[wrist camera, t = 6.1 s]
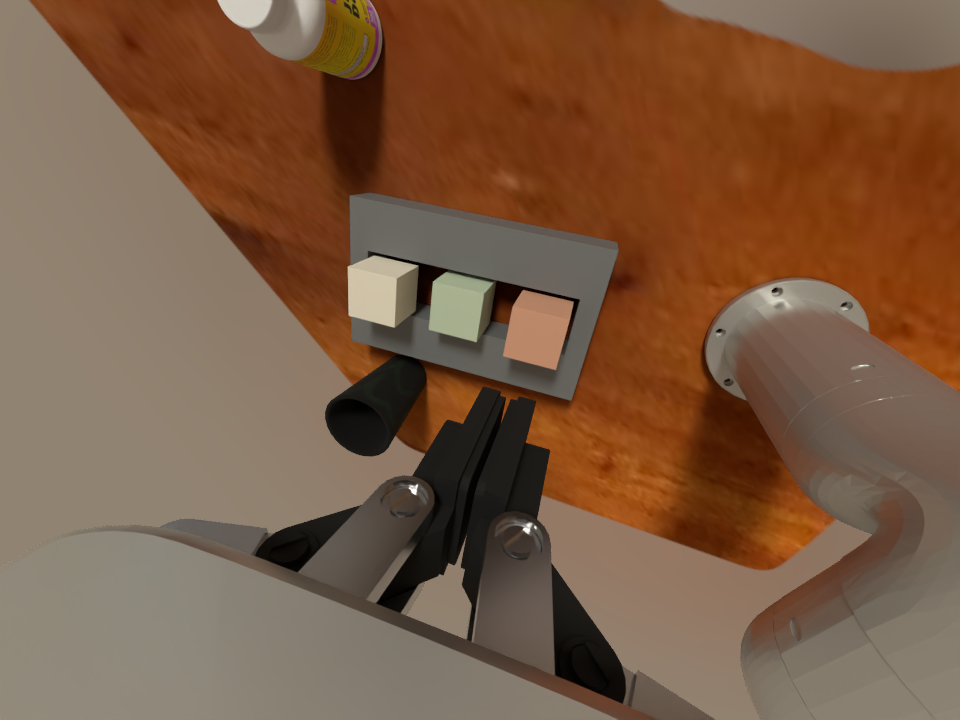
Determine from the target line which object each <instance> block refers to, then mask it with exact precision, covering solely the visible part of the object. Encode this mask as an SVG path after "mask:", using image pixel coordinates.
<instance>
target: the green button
mask: <svg viewBox="0 0 960 720" xmlns="http://www.w3.org/2000/svg"><path fill="white" fill-rule="evenodd" d="M496 282H497V280H493V279H489V278H484V277H480V276H476V275H471V274H467V273H463V272H458V271H454V270H448V271H447V272H446V273H444V274H443V275H441V276H440V277H439V278H437V279H436V280H434V281H433V287H432V299H431V310H430V321H429V330H432V331H436V332H439V333H443V334H447V335H451V336H455V337H459V338H462V339H466V340H470V341H474V342H477V341H478V339H479V338H480V336H481V335H482V334H483V332H484V331H485V329H486V328H487V326H488V325H489V323H490V317H491V311H492V305H493V300H494V294H495V288H496Z"/></svg>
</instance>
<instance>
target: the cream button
mask: <svg viewBox="0 0 960 720" xmlns="http://www.w3.org/2000/svg"><path fill="white" fill-rule="evenodd" d="M418 270H419V266H418V265H413V264H409V263H405V262H400V261H396V260H392V259H388V258H383V257H379V256H372V257H370V258H367V259H365V260H363V261H360V262H358V263H355V264H353V265H351V266H348V300H349V316H352V317H356V318H360V319H364V320H367V321H371V322H375V323H379V324H382V325H386V326H390V327H394V328H395V327H396V326H397V325H399V324H400V323H401V322H402V321H404V320H405V319H406V318H407V317H409V316H410V315H411V314H412V313H414V312H415V311H416V298H417V284H418Z"/></svg>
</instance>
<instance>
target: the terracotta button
mask: <svg viewBox="0 0 960 720" xmlns="http://www.w3.org/2000/svg"><path fill="white" fill-rule="evenodd" d="M573 303H574V302H573V301H569V300H565V299H560V298H556V297H552V296H547V295H543V294H539V293H534V292H530V291H526V290H523V291H522V292H521V294H520V295H519V297H518V299H517V300H516V302H515V303H514V305H513V308H512V313H511V318H510V323H509V328H508V333H507V338H506V343H505V348H504V353H503V356H504V357H508V358H512V359H515V360H519V361H523V362H527V363H531V364H534V365H538V366H542V367H546V368H550V369H553V370H556V368H557V364H558V361H559V357H560V353H561V350H562V346H563V343H564V339H565V336H566V332H567V328H568V325H569V321H570V317H571V312H572V308H573Z"/></svg>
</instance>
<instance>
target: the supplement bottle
mask: <svg viewBox="0 0 960 720" xmlns="http://www.w3.org/2000/svg"><path fill="white" fill-rule="evenodd" d="M217 1H218V3H219V5H220V7H221V8H222V10H223V11H224V13H225V14H226V15H227V17H228V18H229V19H230V20H231V21H232V22H234V23H235V24H236V25H238V26H240V27H242V28H244V29H247V30H249V31H250V32H251V33H252V35H253V36H254V38H255V39H256V40H257V41H258V42H259V43H260V45H261V46H262V47H264V48H265V49H266V50H267V51H269V52H270V53H271V54H273V55H275V56H277V57H280V58H282V59H285V60H288V61H292V62H295V63H298V64H301V65H305V66H307V67H311V68H314V69H317V70H320V71H323V72H326V73H329V74H332V75H335V76H338V77H341V78H345V79H351V80H355V79H360V78H362V77H364V76H366V75H367V74H369V73H370V72H371V71H372V70H373V68H374V67H375V65H376V64H377V61H378V59H379V56H380V53H381V48H382V29H381V24H380V20H379V17H378V14H377V12H376V10H375V8H374V6H373V5H372V3H371V2H370V1H369V0H217Z"/></svg>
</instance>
